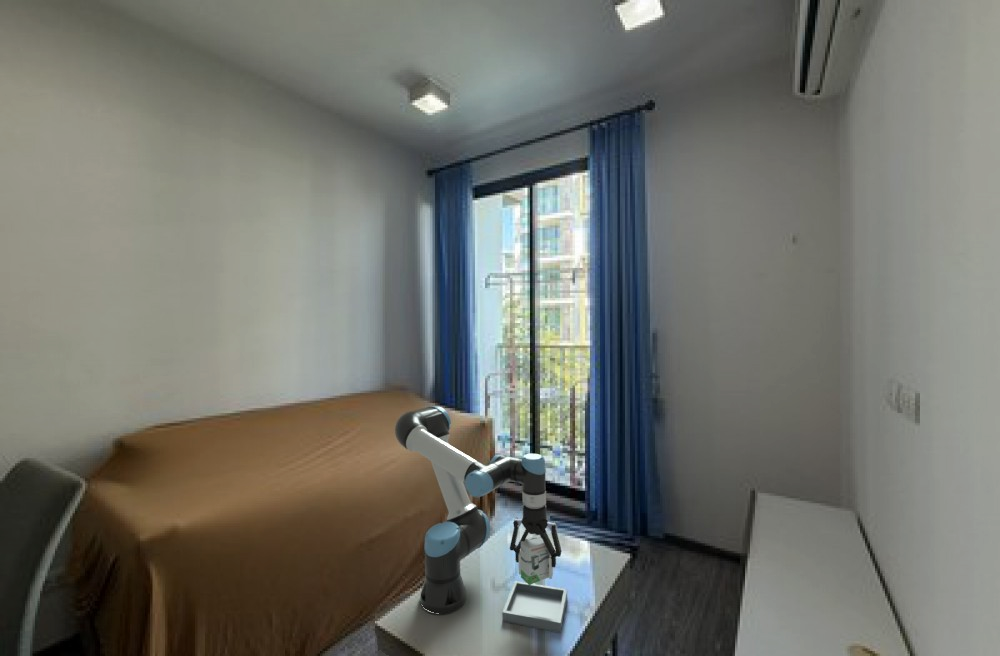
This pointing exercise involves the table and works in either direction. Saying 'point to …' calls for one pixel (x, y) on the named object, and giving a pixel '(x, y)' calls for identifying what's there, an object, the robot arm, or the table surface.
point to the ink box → (534, 560)
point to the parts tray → (535, 606)
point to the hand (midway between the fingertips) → (535, 574)
